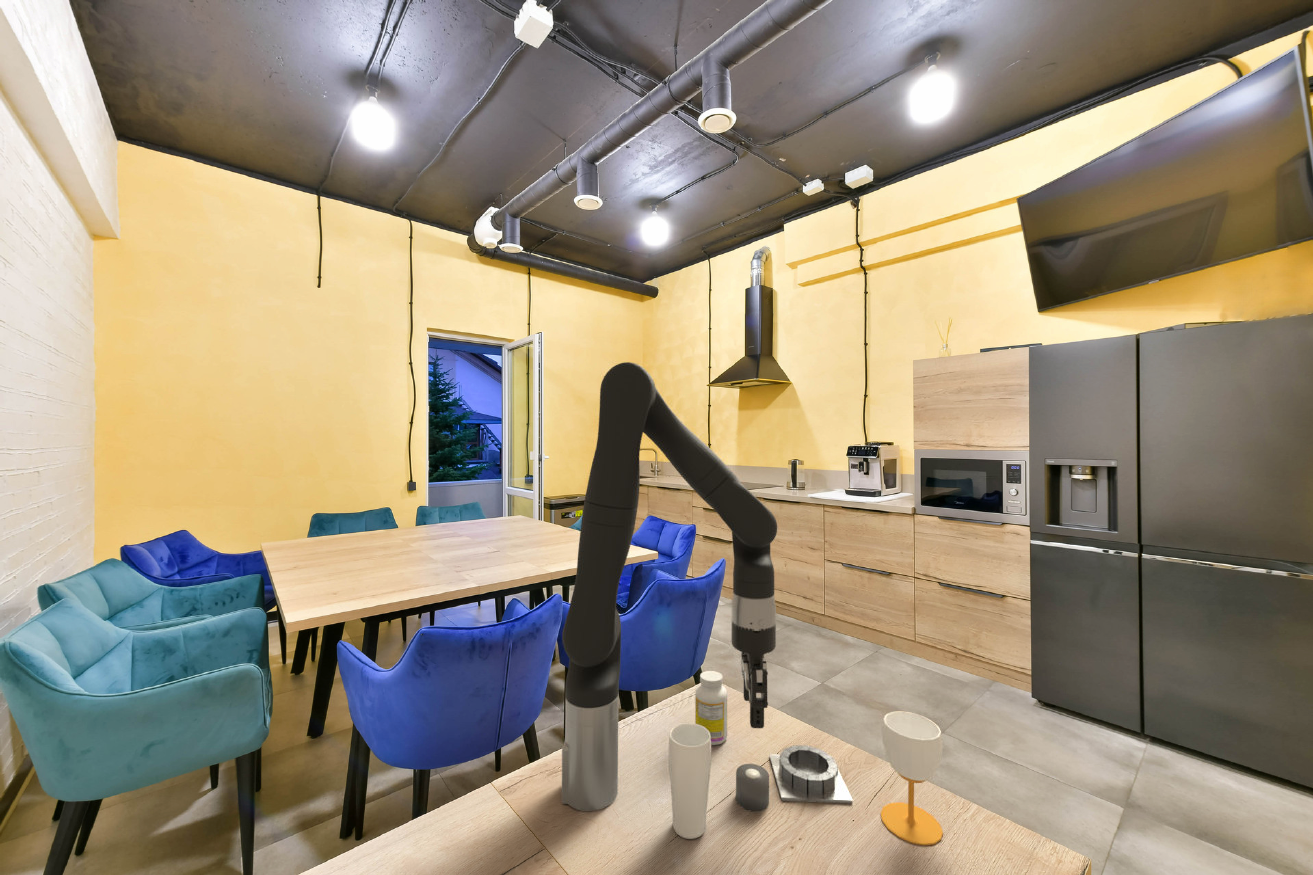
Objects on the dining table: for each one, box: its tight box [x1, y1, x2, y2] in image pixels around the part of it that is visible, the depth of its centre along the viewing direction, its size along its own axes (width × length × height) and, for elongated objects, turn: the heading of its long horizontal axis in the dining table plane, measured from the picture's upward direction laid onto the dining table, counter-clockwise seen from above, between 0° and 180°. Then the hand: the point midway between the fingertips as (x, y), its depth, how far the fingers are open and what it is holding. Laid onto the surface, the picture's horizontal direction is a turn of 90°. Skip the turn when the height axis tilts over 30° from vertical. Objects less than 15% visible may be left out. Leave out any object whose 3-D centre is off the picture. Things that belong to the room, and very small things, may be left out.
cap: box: [735, 763, 770, 813], centre depth 88 cm, size 6×6×5 cm
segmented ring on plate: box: [768, 744, 853, 805], centre depth 93 cm, size 12×12×3 cm
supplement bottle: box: [694, 670, 728, 746], centre depth 106 cm, size 7×7×13 cm
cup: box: [879, 710, 944, 846], centre depth 82 cm, size 9×9×16 cm
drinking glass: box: [668, 722, 712, 840], centre depth 81 cm, size 7×7×15 cm
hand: (753, 712), depth 88 cm, fingers open, 8 cm apart
